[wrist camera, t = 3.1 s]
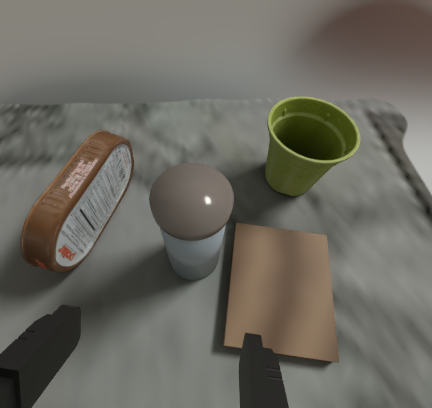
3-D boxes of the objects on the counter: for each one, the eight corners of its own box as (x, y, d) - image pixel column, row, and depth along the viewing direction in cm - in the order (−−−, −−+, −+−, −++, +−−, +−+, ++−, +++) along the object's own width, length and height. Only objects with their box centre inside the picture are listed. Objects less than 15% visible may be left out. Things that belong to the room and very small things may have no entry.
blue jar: (162, 278, 26) (139, 227, 16) (173, 228, 29) (160, 158, 19) (217, 285, 26) (229, 240, 16) (223, 235, 29) (237, 168, 19)
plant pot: (292, 140, 37) (315, 86, 30) (339, 188, 33) (380, 140, 26) (238, 165, 34) (249, 112, 27) (283, 221, 30) (311, 177, 23)
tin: (121, 164, 33) (100, 110, 26) (144, 170, 33) (129, 118, 26) (50, 276, 26) (-9, 245, 18) (78, 285, 25) (31, 258, 18)
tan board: (223, 345, 24) (224, 345, 22) (234, 227, 30) (236, 222, 29) (332, 362, 23) (339, 362, 22) (322, 239, 29) (326, 235, 28)
